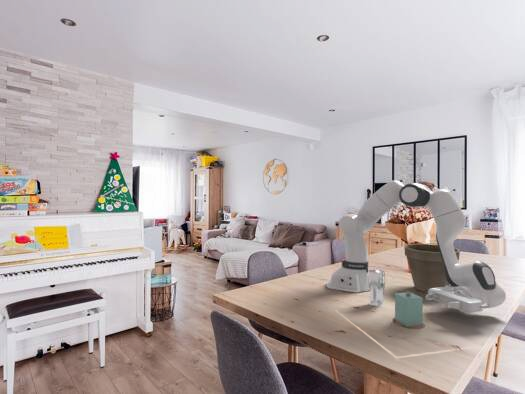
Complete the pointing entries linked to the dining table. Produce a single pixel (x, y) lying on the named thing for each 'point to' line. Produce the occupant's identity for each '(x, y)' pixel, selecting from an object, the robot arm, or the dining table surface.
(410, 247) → the plant pot
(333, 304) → the dining table surface
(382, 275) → the shiny silver metal cup
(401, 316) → the teal knobbed box
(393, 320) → the disc
